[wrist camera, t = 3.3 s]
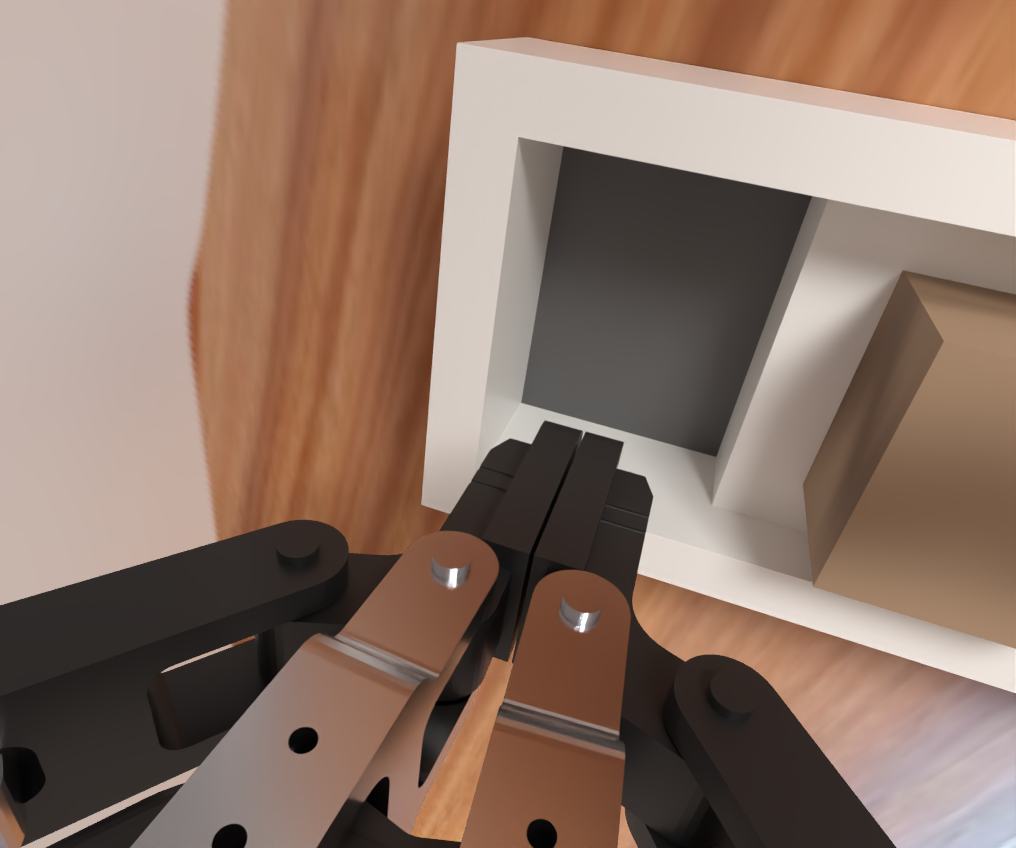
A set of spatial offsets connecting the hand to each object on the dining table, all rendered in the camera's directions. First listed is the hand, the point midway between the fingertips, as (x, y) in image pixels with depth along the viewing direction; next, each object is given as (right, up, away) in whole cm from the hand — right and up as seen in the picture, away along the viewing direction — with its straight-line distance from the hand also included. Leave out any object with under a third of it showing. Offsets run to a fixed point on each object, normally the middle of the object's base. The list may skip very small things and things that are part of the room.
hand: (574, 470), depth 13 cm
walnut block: (+10, +1, +3) cm, 10 cm away
